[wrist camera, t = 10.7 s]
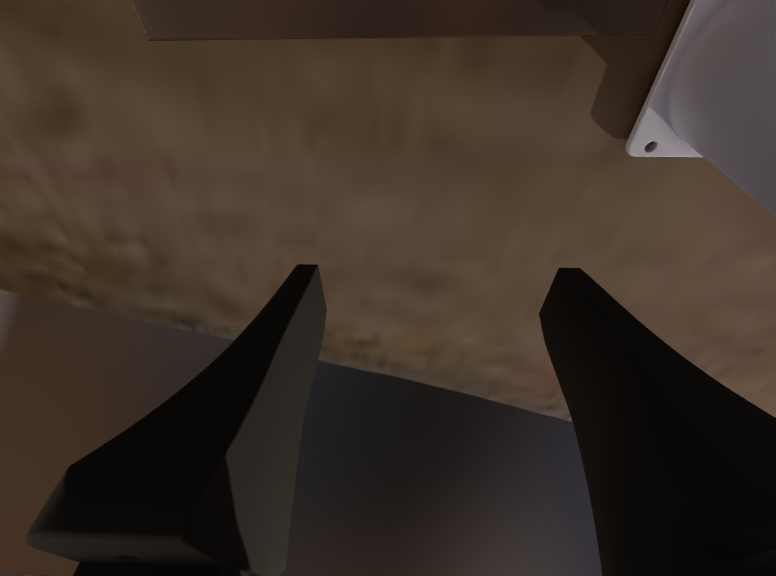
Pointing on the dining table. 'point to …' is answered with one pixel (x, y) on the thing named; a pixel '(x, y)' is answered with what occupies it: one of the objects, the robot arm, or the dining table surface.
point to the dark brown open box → (392, 18)
